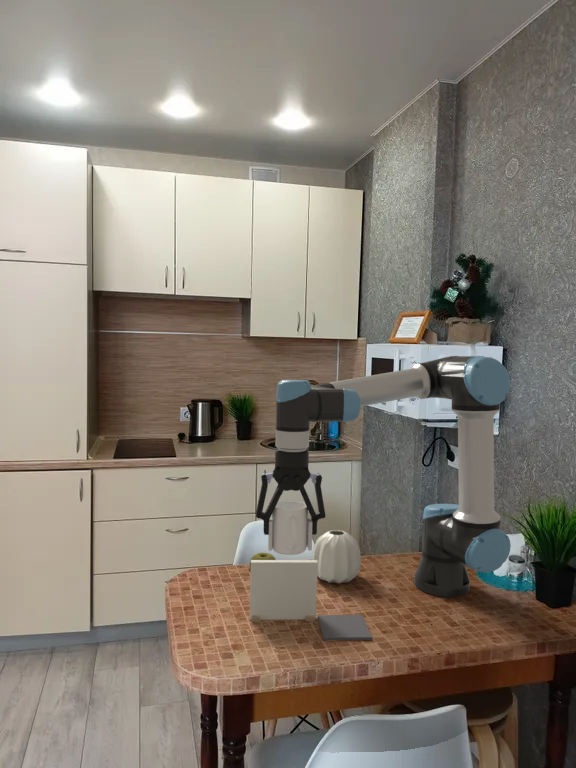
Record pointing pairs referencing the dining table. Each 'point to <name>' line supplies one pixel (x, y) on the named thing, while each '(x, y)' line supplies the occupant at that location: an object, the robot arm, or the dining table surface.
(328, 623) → the pad
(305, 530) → the mug
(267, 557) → the apple
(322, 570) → the vase
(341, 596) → the dining table surface
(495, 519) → the robot arm
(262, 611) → the screen
